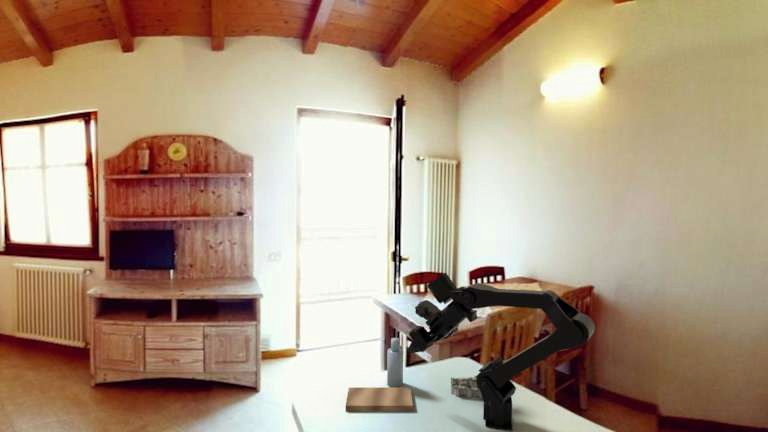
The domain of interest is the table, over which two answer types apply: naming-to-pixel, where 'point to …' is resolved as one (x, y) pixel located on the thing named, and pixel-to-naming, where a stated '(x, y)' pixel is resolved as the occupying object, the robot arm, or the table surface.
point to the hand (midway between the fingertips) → (417, 347)
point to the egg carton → (465, 387)
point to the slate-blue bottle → (395, 364)
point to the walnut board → (379, 399)
